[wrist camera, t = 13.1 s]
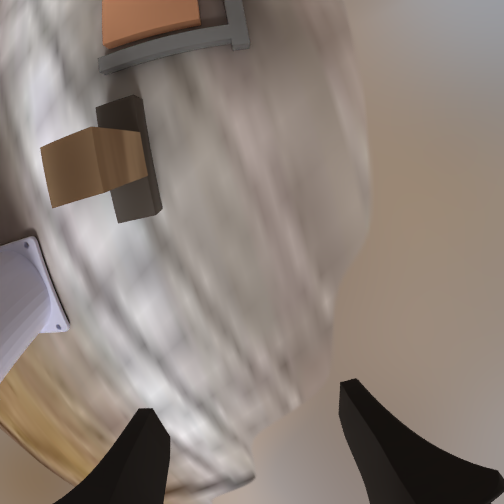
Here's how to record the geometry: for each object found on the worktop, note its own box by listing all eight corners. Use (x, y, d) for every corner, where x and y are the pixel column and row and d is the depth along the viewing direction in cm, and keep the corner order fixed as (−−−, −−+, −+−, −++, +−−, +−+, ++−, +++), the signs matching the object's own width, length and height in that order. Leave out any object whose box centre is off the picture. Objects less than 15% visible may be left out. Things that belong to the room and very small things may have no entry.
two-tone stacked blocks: (127, 216, 18) (68, 261, 10) (107, 110, 15) (34, 95, 8) (163, 208, 18) (119, 251, 10) (143, 99, 15) (85, 71, 8)
